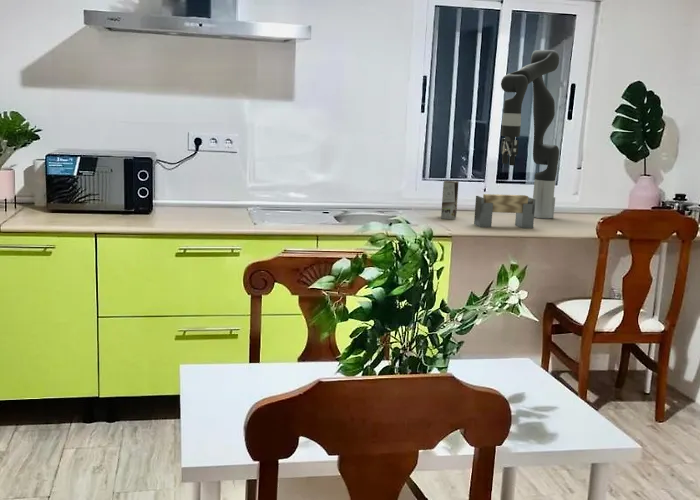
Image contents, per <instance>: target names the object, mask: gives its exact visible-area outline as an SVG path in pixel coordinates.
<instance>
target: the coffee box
mask: <svg viewBox="0 0 700 500" xmlns="http://www.w3.org/2000/svg"><path fill="white" fill-rule="evenodd" d="M459 183H460V182H459V180H458V181H457V180H444V181H443V184H442V186H443V187H442V199H441V214H440V218H441V219H442V220H443V219H445V220H456V218H457V212H458V211H457V210H458V196H459Z"/></svg>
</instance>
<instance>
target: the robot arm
mask: <svg viewBox="0 0 700 500" xmlns="http://www.w3.org/2000/svg"><path fill="white" fill-rule="evenodd" d="M559 63H560V55H559V52H558V51H556V50H553V49H543V50H542V49H539V50H537V49H536V50H533V52H532V54H531V56H530V63H529V64H526V65H524V66H523V67H521V68H520V69H518V70H516V71H512V72H510V73H506V75H504V76H503V77H502V79H501V82H500V86H501V90H502V91H504V92H505V93H515V95H514V96H513V97H510V98H507V99H505V100H504V103H503V114H502V121H501V134H500V135H501V137H504V138H501V146H500V154H502V162H501V163H502V165H503V164H504V165H506V164H508V165H509V166H515V165H516V164H515V163H516V157H517V156H518V155H519V142H520V140H519V139H516V138H519V137H520V136H521V129H522V128H521V126H522V124H521V123H522V104H523V101H524V98H525V94H526V93H527V89H528V86H529V84H531V83H532V91H533V93H532V102H533V103H532V109H533V110H532V113H533V116H532V117H533V142H532V159H533V162H534V163H535V165H544V166H547V167H546V168H545V169H544V170H543V171H539V172H536V173H535V174H534V181H533V182H534V183H533V195H532V198H533V199H536V201H535V213H534V218H537V219H555V218H554V215H555V204H556V197H555V188H556V187H555V186H556V177H557V172H558V164H559V159H560V158H559V156H560V148H559V147H558V145H555V144H544V136H545V133H546V132H547V130H548V129H549V127H550V125H551V124H552V122H553V121H554V118H555V115H556V114H555V113H556V111H555V110H556V109H555V100H554V97H553V95H552V93H551V91H550V90H549V89H548V87H547V86H546V84H545V80H544V77H543V76H544V75H546V74H549V73H553V72H554V71H556V70H557V69H558V67H559Z"/></svg>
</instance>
